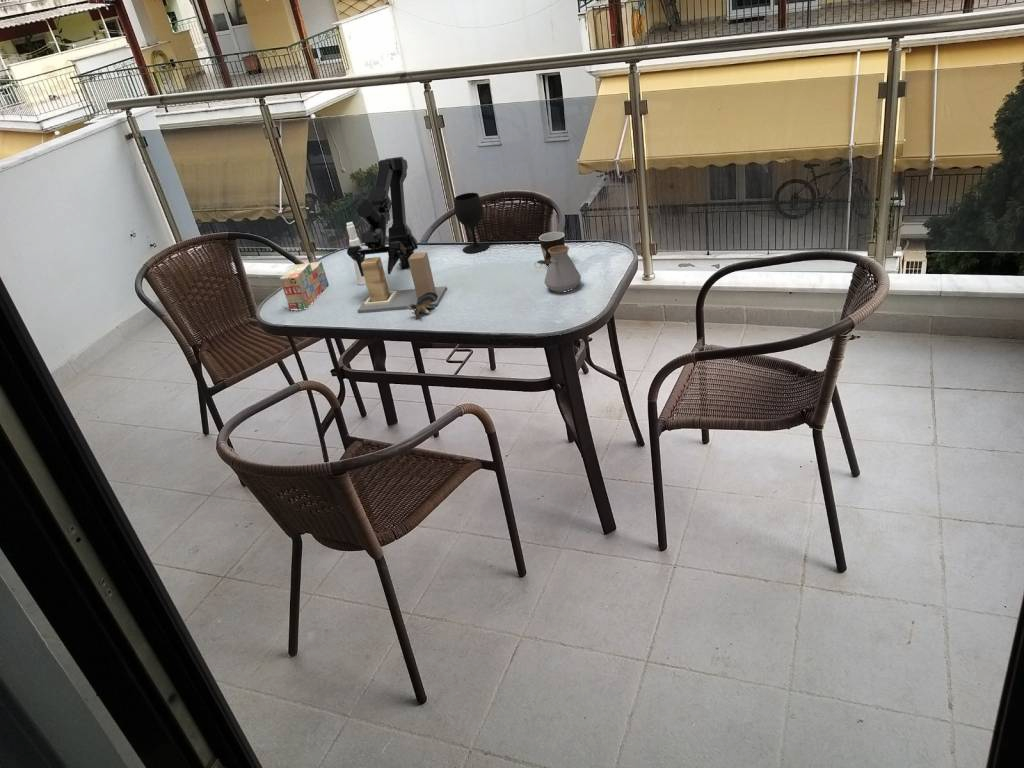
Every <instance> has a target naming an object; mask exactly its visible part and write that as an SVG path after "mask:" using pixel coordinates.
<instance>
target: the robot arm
mask: <svg viewBox="0 0 1024 768" xmlns="http://www.w3.org/2000/svg"><path fill="white" fill-rule="evenodd" d="M377 165H378V166H377V167H378V170H377V173H376V174H377V175H376V180H375V184H374V188H373V190H372V191H371V192H370V193H369V194H368V197H367V198H363V202H361V203H360V204H359V206H358V208H357V209H356V212H357V215H358V216H359V217H360V218H361V219H362V220H363V222H365V224H366V225H368V230H367V231H366V232H360V243H361V244H364V246H365V247H366V248H363V247H362V248H361V247H360V246H359V245H358V246H350V245H349V246H348V247H347V248H346V254H347V256H349V258H350V259H352V261H353V260H355V261H356V262H357V264H358V267H359V270H360V273H361V276H362V277H364V273H363V270H362V266H361V263H362V262H363V261H364V260H365V259H364V258H366V255H375V254H383V253H385V254H387V256H388V260H387V274H388V275H391V273H392V270H393V269H394V267H395V266H396V264H397V263H398V261H399V263H398V264H399V265H398V266H399V267H400V269H401V270H405V269H406V270H407V269H410V266H409V261H408V259H409V257H410V256H411V255H412V254H414V253H415V252H414V251H415V250H417V249H418V248H419V247H418V240H417V239H416V238H415V236H414V235H413V233H412V230H411V228H410V227H409V225H408V224H407V218H406V205H405V194H404V182H405V180H406V178H407V175H408V173H407V171H408V161H407V159H404V157H403V156H397V157H396V156H395V157H388V158H384V159H380V160H378V162H377ZM389 193H390V197H389ZM390 211H391V215H392V224H391V227H388V229H387V225H388V224H389V221H388V219H387V217H386V216H385V215H384V214H386V213H389V212H390ZM387 230H388V236H387ZM386 240H388V241H386ZM387 242H388V246H387Z"/></svg>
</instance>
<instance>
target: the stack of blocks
mask: <svg viewBox="0 0 1024 768" xmlns="http://www.w3.org/2000/svg"><path fill="white" fill-rule="evenodd" d="M324 268H325V267H324V265H323V262H322V261H314V262H306V263H299V264H293V265H292V267H290V268H289V269H288V270H287V271H286V272H285V273H284V274H283V275H282V276H281V277H280V278H279V280H280V283H281V286H282V290H283V292H284V296H285V298H286V300H287V304H288V307H289V310H290V309H304V308H307V307H308V306H309V305H311V303H312V302H313V301H314V300H315V299H316V298H317V296H318V295H319V294H320V293H321V292H322V291H323V290H324V289H325V288H326V287H327V288H328V286H329V285H328V284H329V281H328V277H327V273H326V270H325V269H324ZM327 285H328V286H327ZM327 288H326V289H327ZM326 289H325V290H326ZM325 290H324V291H325ZM324 291H323V292H324ZM323 292H322V293H323ZM322 293H321V294H322ZM321 294H320V295H321ZM320 295H319V296H320ZM317 299H318V298H317ZM317 299H316V300H317ZM316 300H315V301H316ZM315 301H314V302H315ZM311 306H312V305H311Z"/></svg>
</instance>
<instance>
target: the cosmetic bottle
mask: <svg viewBox="0 0 1024 768" xmlns="http://www.w3.org/2000/svg"><path fill="white" fill-rule="evenodd" d="M346 231H347V234H348V238H349V240H348V243H349V246H358V245H359V246H360V247H361V248H362V249H363V246H362V243H361V239H360V238H359V237H358V235H357V230H356V227H355V224H354V222H353V221H349V222H346ZM366 258H367V257H365V258H364V259H366ZM352 262H353V266H354V270H355V278H356V283H357V285H359V286H365V285H366V281H365V277H362V276H361V273H360V270H359V267H358V264H357V262H356V261H355V260H353V259H352ZM366 286H367V285H366Z"/></svg>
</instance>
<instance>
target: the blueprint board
mask: <svg viewBox="0 0 1024 768" xmlns="http://www.w3.org/2000/svg"><path fill="white" fill-rule="evenodd" d="M408 261H409V266H410V268H409V269H410V272H411V278H412V281H413V286H414V288H412V289H411V288H410V289H399V290H389V293H390V298H389V299H388V300H387V301H378V302H371V299H370V296H369V295H368V296H367V298H366V299H365V300H364V301H363V302H362V303H361V305H360V307H359V308H358V309H357V310H356V311H357V313H358V314H365V313H374V312H389V311H401V310H409V309H408V308H407V305H408V304H410V303H413V304H415V305H416V304H417V300H418V298H419V297H421V296H422V295H424V294H426V293H428V292H434V293H435V294H437V295H438V298H437V300H436V301H435V302H432V303H431V304H429V305H428V306H430V307H435V308H436V307H438V306H439V303H440V302H441V301H442V298H443V297H444V295H445V293H446V291H447V290H448V287H447V286H446V285H445V286H444V285H443V286H435V281H434V277H433V273H432V269H431V265H430V264H431V262H430V259H429V255H428V251H426V252H417V253H415V252H414V254H412V255H411V256H410V257H409V259H408Z"/></svg>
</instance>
